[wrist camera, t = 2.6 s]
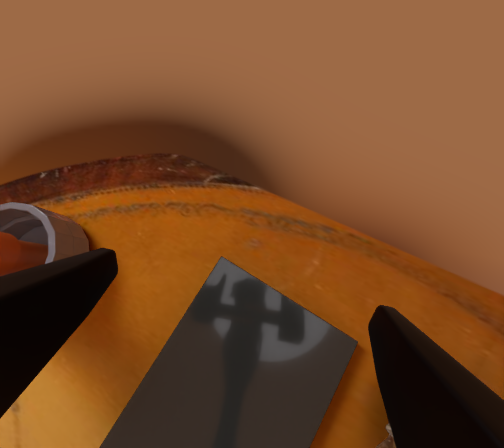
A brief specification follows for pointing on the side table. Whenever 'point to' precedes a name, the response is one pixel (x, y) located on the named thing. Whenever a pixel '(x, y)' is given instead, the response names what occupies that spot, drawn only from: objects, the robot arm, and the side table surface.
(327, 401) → the slate board
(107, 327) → the side table surface
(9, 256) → the carrot
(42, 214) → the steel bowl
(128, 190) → the side table surface
